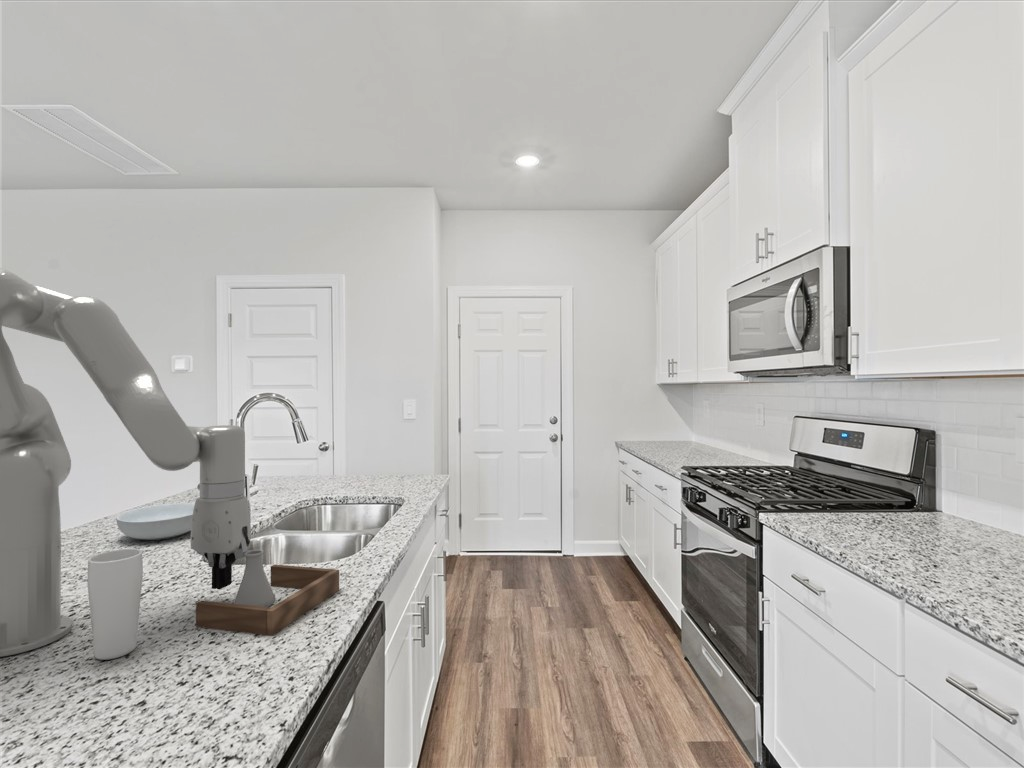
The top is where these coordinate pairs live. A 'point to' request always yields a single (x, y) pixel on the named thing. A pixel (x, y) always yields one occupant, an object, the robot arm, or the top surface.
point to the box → (271, 620)
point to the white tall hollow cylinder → (115, 601)
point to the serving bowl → (157, 521)
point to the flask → (254, 582)
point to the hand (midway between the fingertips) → (221, 586)
